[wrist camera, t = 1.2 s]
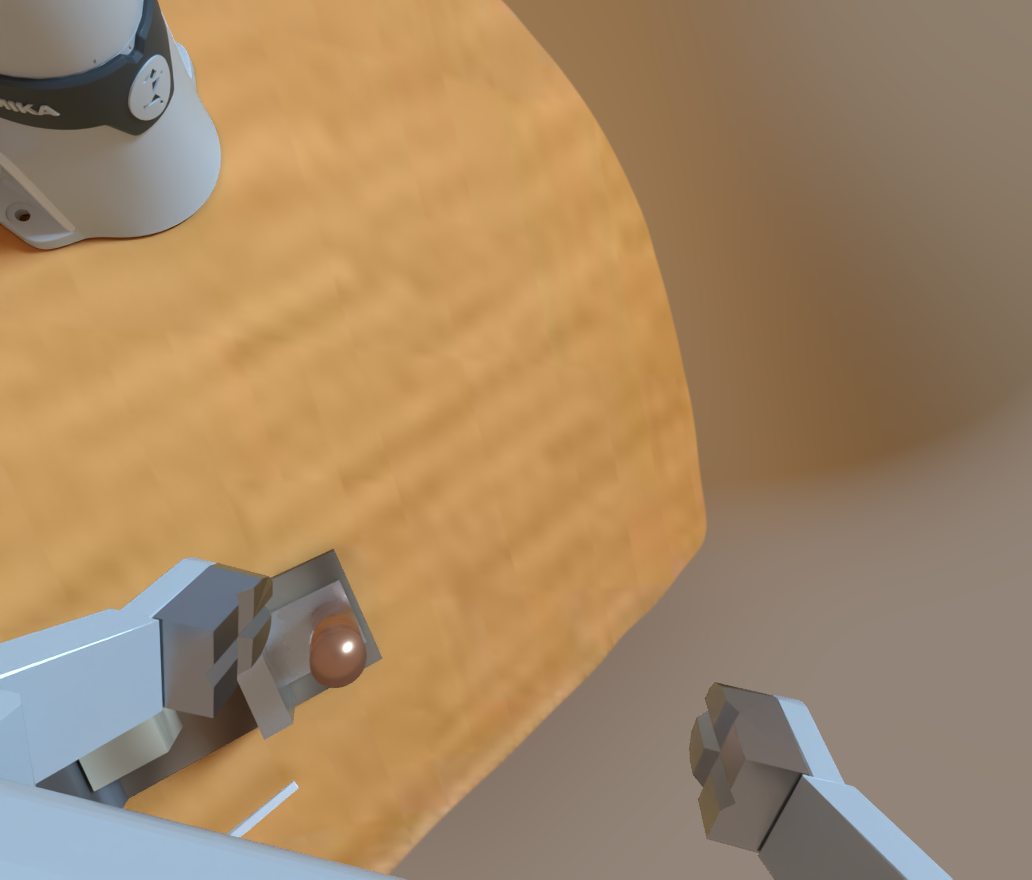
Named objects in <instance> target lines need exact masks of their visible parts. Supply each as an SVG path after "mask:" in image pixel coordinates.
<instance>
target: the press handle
mask: <svg viewBox="0 0 1032 880" xmlns="http://www.w3.org/2000/svg"><path fill="white" fill-rule="evenodd" d="M270 614H271V616H272V617H271V628H270V632H269V637H268V640H267V642H266V645H265V647H264V649H263V651H262V653H261V655H260V657H259V658H258V660H257V661H256V662H255V664H254V665H253V666H252V668H250V669H248V670H246V671H244V672H242V673H240V674H238V675H237V681H238V683H239V685H240V687H241V690H242V692H243V694H244V696H245V698H246V701H247V703H248V705H249V707H250V709H251V711H252V714H253V716H254V718H255V720H256V722H257V725H258V727H259V729H260V731H261V733H262V735H263V738H264V740H265V739H267V738H268V737H270V736H272V735H274V734H275V733H277V732H279V731H281V730H283V729H284V728H286V727H288V726H290V725H291V724H293V720H294V710H295V698H294V695H293V693H292V691H291V689H290V687H289V683H291V682H293V681H295V680H297V679H299V678H301V677H303V676H304V675H306V674H308V673H310V672H311V673H312V675H313V677H314V678H315V680H316V681H317V682H319V683H320V684H321V685H323V686H326V687H330V688H339V687H343V686H346V685H348V684H350V683H352V682H353V681H354V680H356V679H357V678H358V677H359V675H360V674H361V673H362V671H363V669H364V667H365V664H366V659H367V652H366V648H365V645H364V643H366V642H367V641H366V639H365V636H364V634H363V632H362V630H361V627H360V625H359V623H358V621H357V618H356V616H355V614H354V612H353V609H352V607H351V605H350V603H349V600H348V598H347V596H346V594H345V591H344V589H343V587H342V585H341V583H340V580H339V578H338V579H336V580H334V581H332V582H330V583H328V584H326V585H324V586H322V587H320V588H317V589H315V590H313V591H311V592H309V593H307V594H305V595H303V596H301V597H299V598H297V599H295V600H293V601H291V602H289V603H286V604H284V605H282V606H280V607H278V608H276V609H274V610H272V611H270Z"/></svg>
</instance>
